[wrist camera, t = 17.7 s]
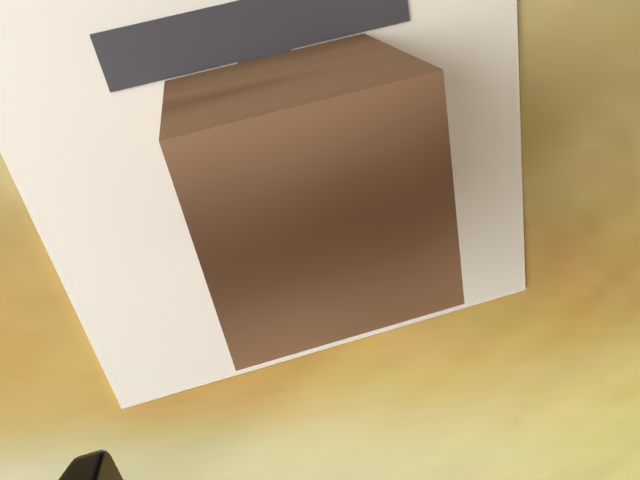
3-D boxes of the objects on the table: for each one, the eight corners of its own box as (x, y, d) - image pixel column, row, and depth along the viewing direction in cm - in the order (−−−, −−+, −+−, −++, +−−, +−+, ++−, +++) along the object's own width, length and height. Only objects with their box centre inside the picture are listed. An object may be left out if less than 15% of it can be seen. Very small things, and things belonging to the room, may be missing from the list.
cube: (390, 212, 20) (464, 303, 15) (220, 258, 20) (236, 371, 15) (363, 33, 18) (443, 69, 12) (164, 81, 17) (158, 141, 12)
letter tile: (522, 287, 24) (526, 291, 23) (121, 405, 22) (121, 410, 22) (506, -202, 16) (512, -205, 16) (-106, -78, 14) (-111, -78, 14)
